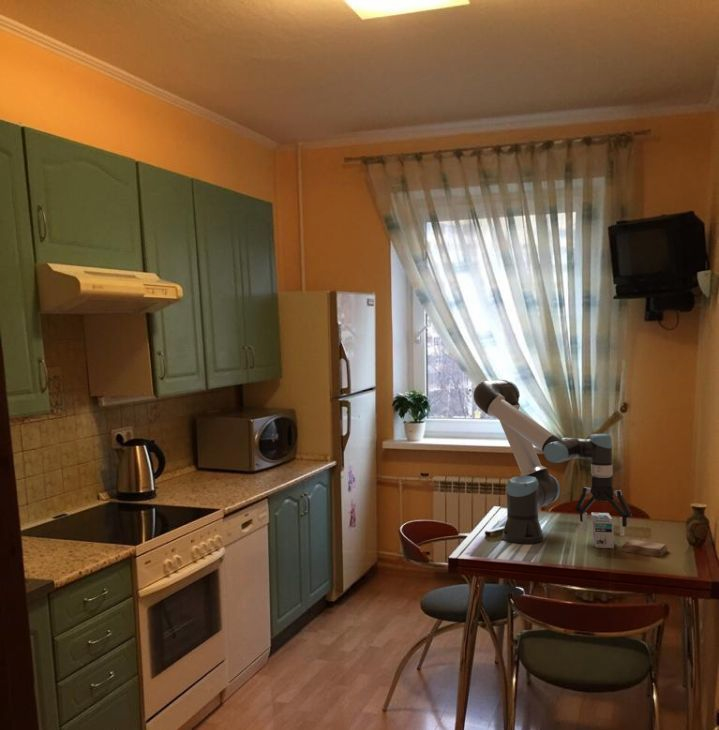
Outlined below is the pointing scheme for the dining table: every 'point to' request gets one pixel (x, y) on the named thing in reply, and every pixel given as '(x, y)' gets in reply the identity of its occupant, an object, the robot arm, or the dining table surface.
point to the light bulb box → (602, 530)
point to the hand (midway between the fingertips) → (603, 533)
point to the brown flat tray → (645, 548)
